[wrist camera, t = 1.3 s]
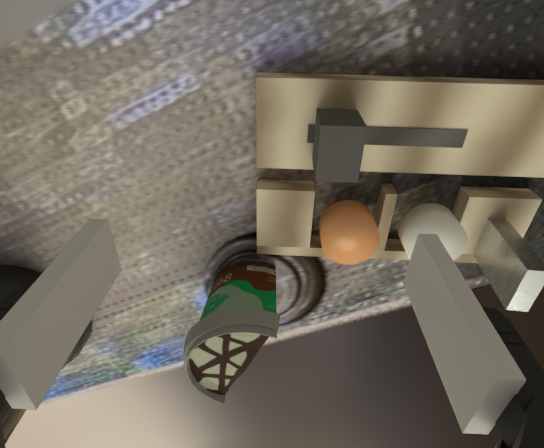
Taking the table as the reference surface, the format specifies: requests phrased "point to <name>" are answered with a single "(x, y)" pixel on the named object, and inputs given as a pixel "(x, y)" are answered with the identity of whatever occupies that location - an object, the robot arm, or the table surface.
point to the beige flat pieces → (400, 148)
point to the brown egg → (348, 232)
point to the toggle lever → (509, 264)
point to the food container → (231, 327)
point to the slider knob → (338, 145)
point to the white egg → (432, 228)
